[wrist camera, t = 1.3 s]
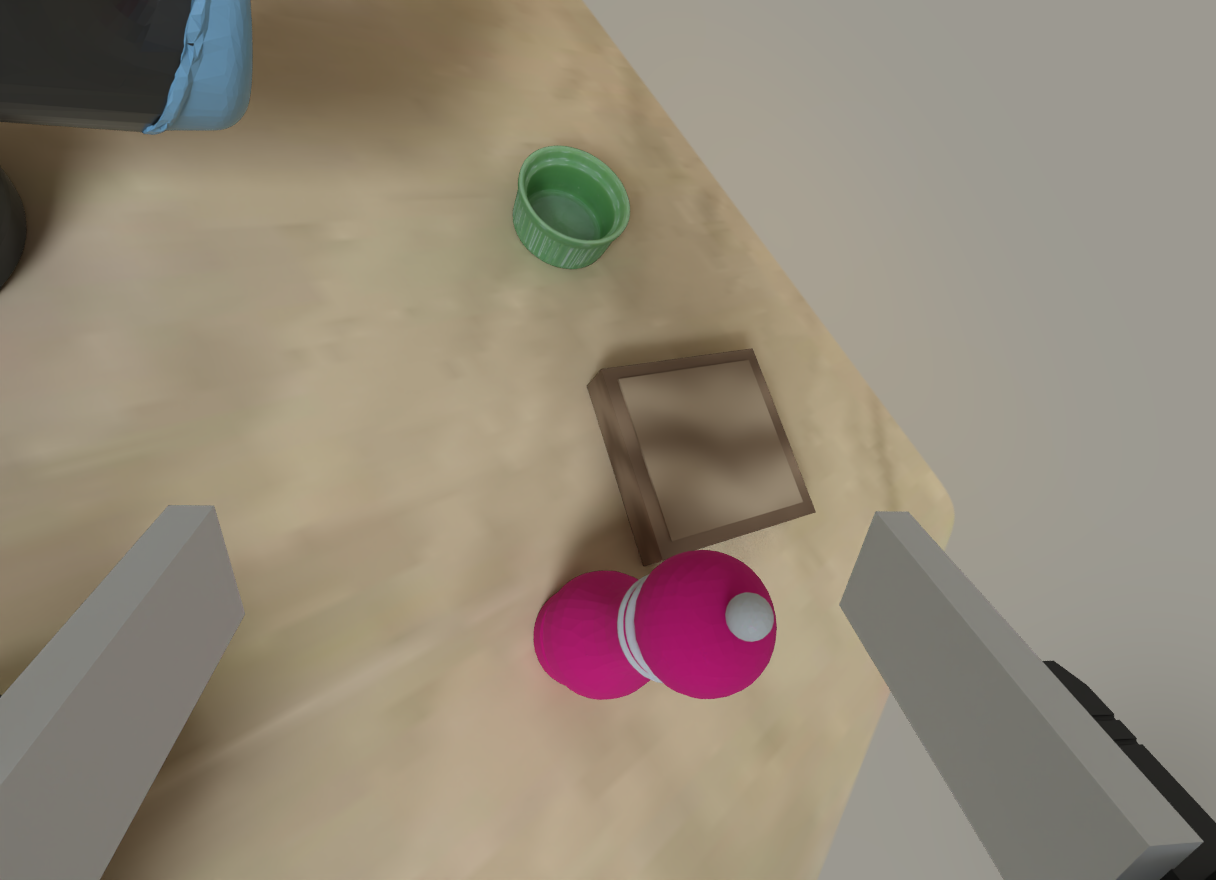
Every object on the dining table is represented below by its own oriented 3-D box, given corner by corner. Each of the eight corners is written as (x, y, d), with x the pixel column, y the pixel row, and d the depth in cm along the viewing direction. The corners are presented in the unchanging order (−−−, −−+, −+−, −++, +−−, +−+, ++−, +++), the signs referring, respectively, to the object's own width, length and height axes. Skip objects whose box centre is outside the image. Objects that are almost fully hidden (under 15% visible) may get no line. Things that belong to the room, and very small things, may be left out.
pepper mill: (622, 575, 42) (819, 512, 24) (636, 686, 39) (863, 706, 22) (520, 584, 39) (660, 521, 21) (529, 704, 37) (693, 744, 19)
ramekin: (626, 228, 52) (648, 194, 48) (580, 296, 48) (600, 265, 44) (539, 165, 51) (554, 125, 47) (484, 230, 47) (496, 191, 43)
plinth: (586, 386, 45) (602, 368, 43) (732, 364, 52) (753, 347, 49) (643, 566, 42) (664, 559, 40) (790, 520, 49) (817, 511, 46)
